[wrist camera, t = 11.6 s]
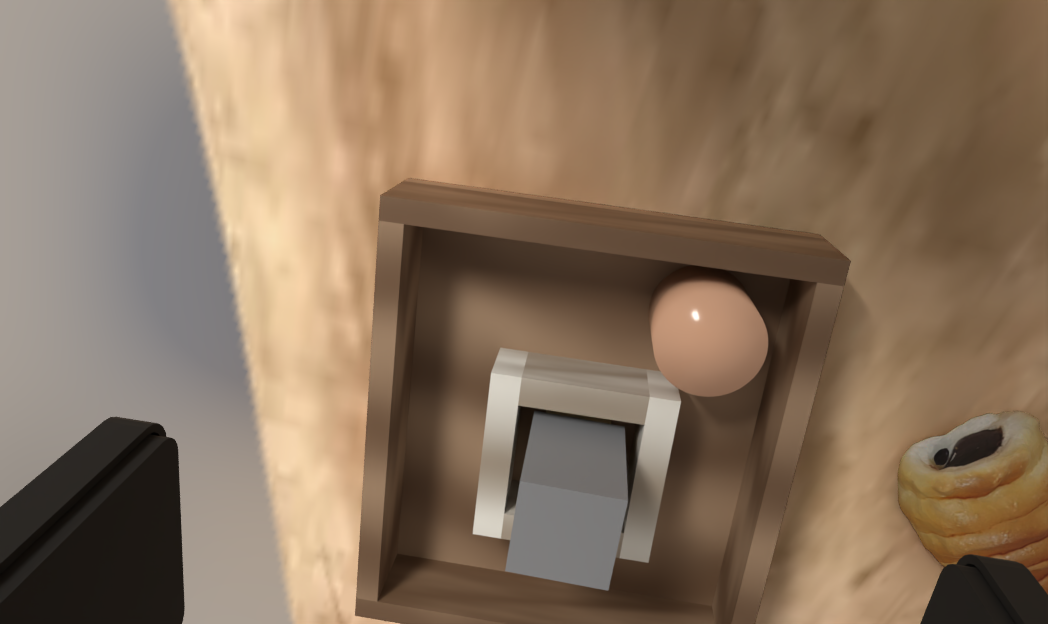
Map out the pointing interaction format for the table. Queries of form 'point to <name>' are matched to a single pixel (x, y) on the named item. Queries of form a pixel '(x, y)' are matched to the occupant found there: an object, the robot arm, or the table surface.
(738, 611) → the crate
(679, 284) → the ball
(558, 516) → the gray block
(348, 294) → the table surface
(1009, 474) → the pastry
